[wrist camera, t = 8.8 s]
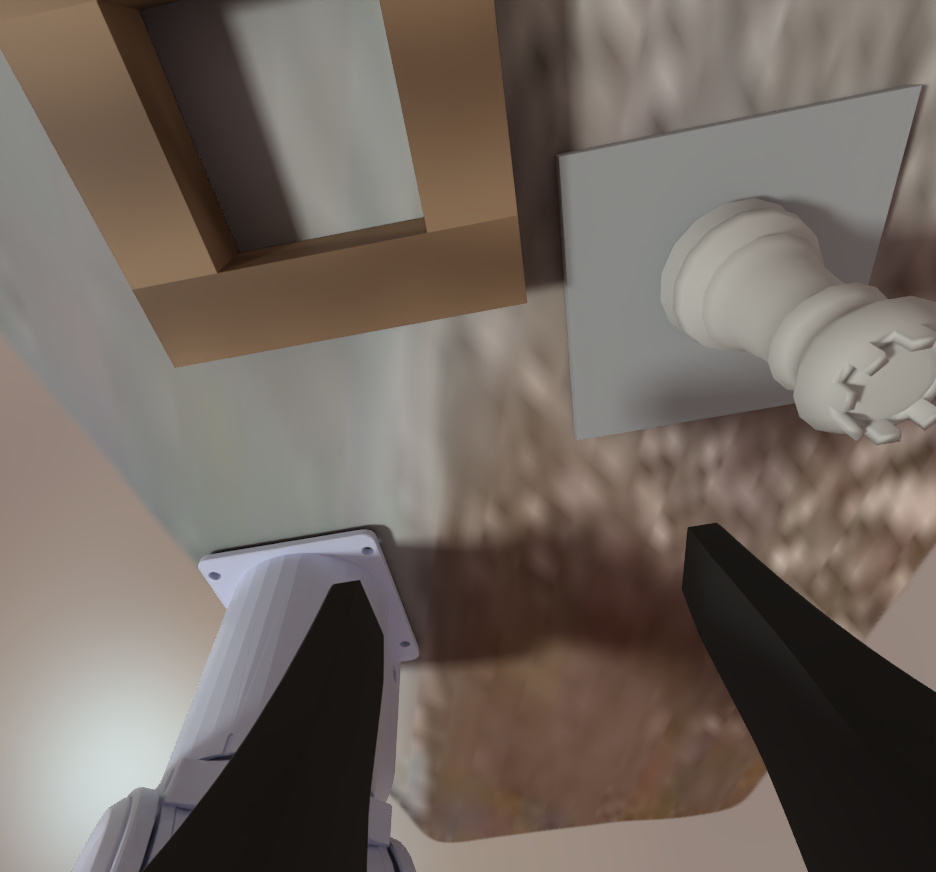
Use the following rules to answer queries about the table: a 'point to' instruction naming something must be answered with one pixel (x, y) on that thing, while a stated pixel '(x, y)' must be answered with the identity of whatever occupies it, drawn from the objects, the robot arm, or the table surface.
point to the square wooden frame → (295, 264)
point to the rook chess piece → (803, 321)
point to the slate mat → (673, 212)
